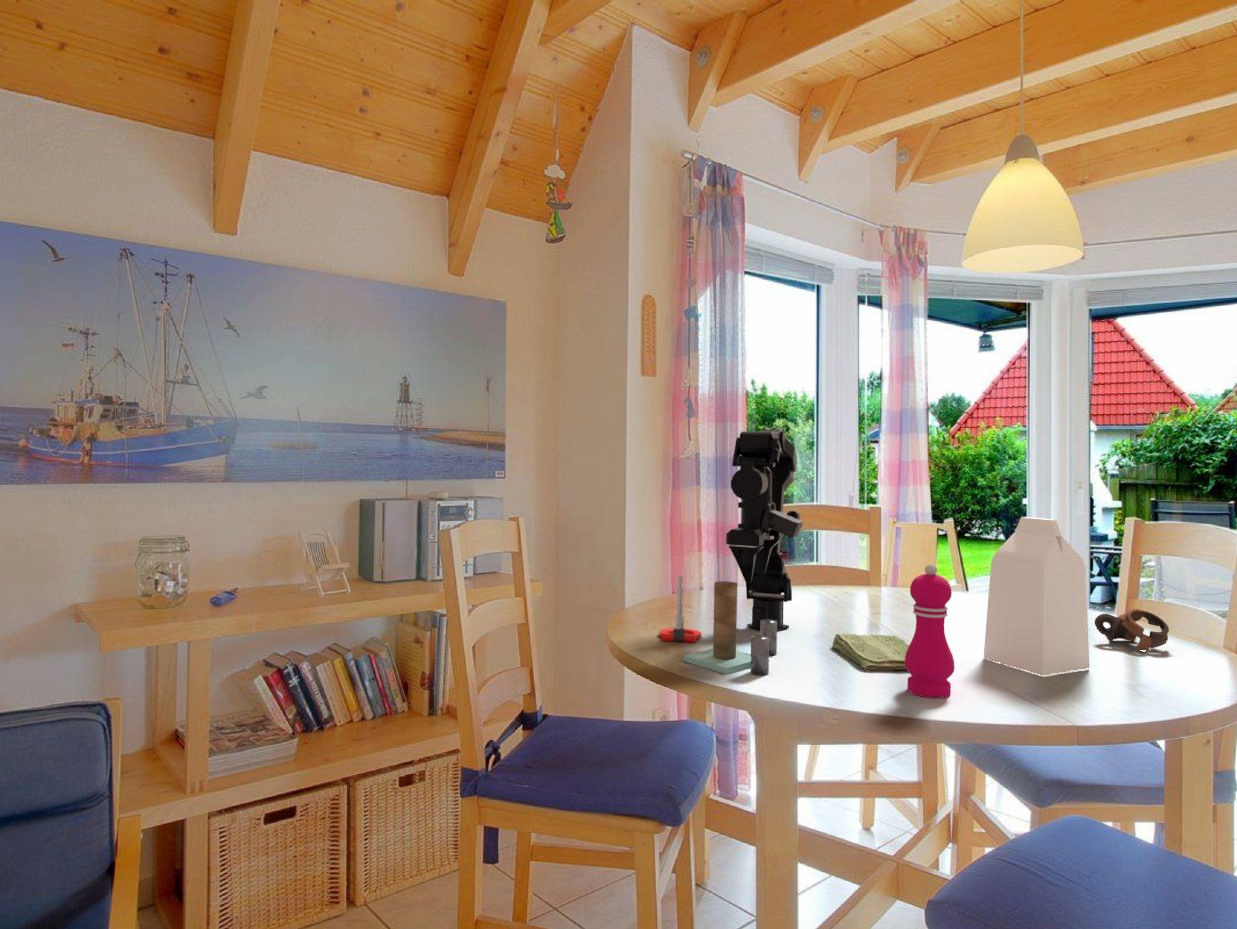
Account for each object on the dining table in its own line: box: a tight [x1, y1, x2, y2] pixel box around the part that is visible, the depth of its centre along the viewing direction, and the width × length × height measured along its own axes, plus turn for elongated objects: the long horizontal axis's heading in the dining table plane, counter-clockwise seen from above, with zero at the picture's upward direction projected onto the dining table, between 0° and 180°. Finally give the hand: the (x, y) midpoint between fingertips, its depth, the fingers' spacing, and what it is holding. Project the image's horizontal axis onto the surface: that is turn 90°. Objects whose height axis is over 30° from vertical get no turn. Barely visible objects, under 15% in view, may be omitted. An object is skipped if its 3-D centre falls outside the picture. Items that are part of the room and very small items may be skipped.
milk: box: [983, 516, 1090, 675], centre depth 135 cm, size 12×12×26 cm
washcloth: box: [832, 633, 910, 671], centre depth 139 cm, size 13×18×3 cm
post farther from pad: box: [759, 619, 778, 657], centre depth 141 cm, size 3×3×6 cm
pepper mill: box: [905, 563, 955, 698], centre depth 119 cm, size 7×7×20 cm
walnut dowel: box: [712, 580, 738, 660], centre depth 134 cm, size 4×4×13 cm
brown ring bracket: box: [1094, 608, 1170, 652], centre depth 149 cm, size 12×10×8 cm
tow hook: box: [659, 575, 702, 643], centre depth 153 cm, size 8×13×9 cm
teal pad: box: [683, 648, 751, 675], centre depth 134 cm, size 10×10×1 cm
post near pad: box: [750, 634, 770, 676], centre depth 128 cm, size 3×3×6 cm
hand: (755, 578), depth 146 cm, fingers open, 9 cm apart
